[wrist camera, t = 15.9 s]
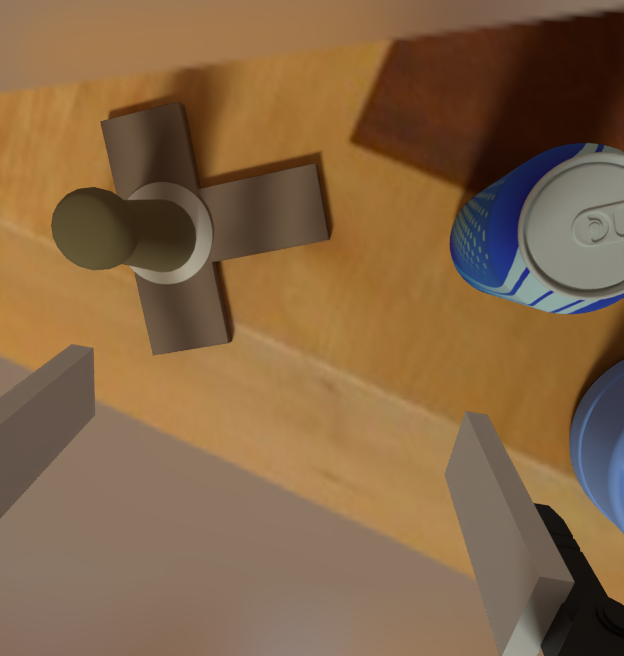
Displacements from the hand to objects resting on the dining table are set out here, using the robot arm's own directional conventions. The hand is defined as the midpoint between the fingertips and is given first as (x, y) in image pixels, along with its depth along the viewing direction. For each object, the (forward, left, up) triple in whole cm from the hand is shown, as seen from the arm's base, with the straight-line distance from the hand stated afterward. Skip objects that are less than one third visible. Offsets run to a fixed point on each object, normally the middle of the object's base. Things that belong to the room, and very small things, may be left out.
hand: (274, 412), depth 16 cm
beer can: (-7, -13, -24) cm, 28 cm away
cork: (+16, +2, -22) cm, 28 cm away
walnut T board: (+13, -1, -23) cm, 27 cm away
